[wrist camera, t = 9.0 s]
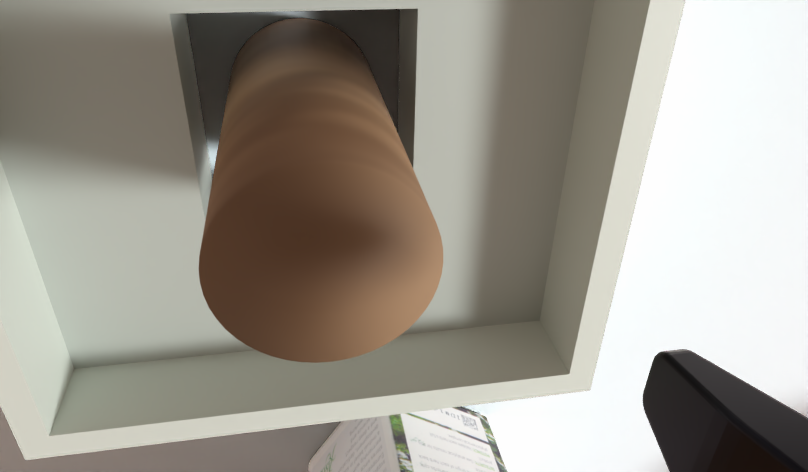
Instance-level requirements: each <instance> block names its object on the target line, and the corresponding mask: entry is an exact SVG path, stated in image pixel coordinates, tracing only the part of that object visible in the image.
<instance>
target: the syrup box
mask: <svg viewBox="0 0 808 472" xmlns="http://www.w3.org/2000/svg"><path fill="white" fill-rule="evenodd" d="M308 472H507V470H506V467H505V465H504V463H503V460H502V458H501V455H500V453H499V450H498V447H497V444H496V441H495V439H494V436H493V433H492V431H491V429H490V426H489V423H488V421H487V418H486V417H485V416H482V415H480V414H477V413H475V412H472V411H470V410H467V409H464V408H461V407H452V408H444V409H436V410H428V411H420V412H412V413H404V414H395V415H387V416H379V417H371V418H363V419H355V420H347V421H341V423H340V424H339V425H338V426H337V427H336V429H335V430H334V431H333V432H332V434H331V435H330V436H329V437H328V439H327V440H326V441H325V442H324V444H323V445H322V446H321V447H320V448H319V450H318V451H317V452H316V453H315V455H314V456H313V457H312V459H311V460H310V461H309V466H308Z"/></svg>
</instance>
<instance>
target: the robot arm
mask: <svg viewBox="0 0 808 472" xmlns="http://www.w3.org/2000/svg"><path fill="white" fill-rule="evenodd" d="M643 406H644V410H645V413H646V416H647V418H648V420H649V423H650V425H651V428H652V430H653V433H654V435H655V437H656V440H657V442H658V445H659V447H660V449H661V452H662V454H663V457H664V459H665V462H666V464H667V466H668V469H669V471H670V472H808V418H807V417H805V416H804V415H802V414H800V413H798V412H797V411H795V410H793V409H791V408H790V407H788V406H786V405H784V404H783V403H781V402H779V401H777V400H776V399H774V398H772V397H770V396H769V395H767V394H765V393H764V392H762V391H760V390H758V389H757V388H755V387H753V386H751V385H750V384H748V383H746V382H744V381H743V380H741V379H739V378H737V377H736V376H734V375H732V374H730V373H729V372H727V371H725V370H723V369H722V368H720V367H718V366H716V365H715V364H713V363H711V362H710V361H708V360H706V359H704V358H703V357H701V356H699V355H697V354H696V353H694V352H692V351H690V350H685V349H680V350H672V351H663V352H660V353H658V354H657V355H656V356H655V358H654V360H653V363H652V366H651V369H650V373H649V376H648V379H647V383H646V386H645V389H644V393H643Z"/></svg>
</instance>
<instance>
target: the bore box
mask: <svg viewBox="0 0 808 472" xmlns="http://www.w3.org/2000/svg"><path fill="white" fill-rule="evenodd" d="M684 4H685V0H0V406H1V409H2V411H3V413H4V415H5V417H6V420H7V422H8V424H9V426H10V428H11V430H12V433H13V435H14V437H15V439H16V441H17V444H18V446H19V448H20V450H21V452H22V454H23V457H24V459H25V460H32V459H41V458H49V457H57V456H65V455H73V454H81V453H89V452H97V451H105V450H113V449H121V448H129V447H137V446H145V445H153V444H162V443H170V442H178V441H186V440H194V439H202V438H210V437H218V436H226V435H234V434H242V433H250V432H258V431H266V430H274V429H283V428H291V427H299V426H307V425H315V424H323V423H331V422H339V421H347V420H355V419H363V418H371V417H379V416H387V415H395V414H404V413H412V412H420V411H428V410H436V409H444V408H452V407H460V406H468V405H476V404H484V403H492V402H500V401H508V400H516V399H525V398H533V397H541V396H549V395H557V394H565V393H573V392H581V391H589V390H590V388H591V384H592V380H593V376H594V372H595V368H596V364H597V360H598V356H599V351H600V347H601V343H602V339H603V335H604V331H605V327H606V323H607V319H608V315H609V311H610V307H611V302H612V298H613V294H614V290H615V286H616V282H617V278H618V274H619V270H620V266H621V262H622V258H623V253H624V249H625V245H626V241H627V237H628V233H629V229H630V225H631V221H632V217H633V213H634V209H635V204H636V200H637V196H638V192H639V188H640V184H641V180H642V176H643V172H644V168H645V164H646V160H647V155H648V151H649V147H650V143H651V139H652V135H653V131H654V127H655V123H656V119H657V115H658V111H659V106H660V102H661V98H662V94H663V90H664V86H665V82H666V78H667V74H668V70H669V66H670V61H671V57H672V53H673V49H674V45H675V41H676V37H677V33H678V29H679V25H680V21H681V17H682V12H683V8H684ZM371 9H400V23H399V93H398V135H399V137H400V140H401V142H402V144H403V147H404V149H405V151H406V154H407V156H408V158H409V161H410V163H411V165H412V168H413V170H414V172H415V175H416V177H417V179H418V182H419V184H420V186H421V189H422V191H423V193H424V196H425V198H426V200H427V203H428V205H429V207H430V210H431V212H432V214H433V217H434V219H435V221H436V223H437V226H438V229H439V232H440V235H441V239H442V245H443V268H442V275H441V278H440V282H439V285H438V288H437V290H436V292H435V295H434V297H433V299H432V300H431V302H430V304H429V305H428V307H427V308H426V310H425V311H424V312H423V314H422V315H421V316H420V317H419V319H418V320H417V321H416V322H415V323H414V324H413V325H412V326H411V327H410V328H409V329H407V330H406V331H405V332H404V333H402V334H401V335H400V336H398V337H397V338H396V339H394V340H392V341H391V342H389V343H387V344H386V345H384V346H382V347H380V348H378V349H376V350H374V351H371V352H368V353H366V354H363V355H360V356H357V357H353V358H349V359H345V360H339V361H333V362H320V363H310V362H297V361H289V360H284V359H280V358H276V357H272V356H270V355H267V354H264V353H261V352H259V351H257V350H255V349H253V348H251V347H249V346H247V345H246V344H244V343H242V342H241V341H239V340H238V339H236V338H235V337H234V336H233V335H232V334H230V333H229V332H228V331H227V330H226V329H225V328H224V327H223V326H222V325H221V324H220V323H219V321H218V320H217V319H216V318H215V316H214V315H213V313H212V312H211V310H210V309H209V307H208V305H207V302H206V300H205V298H204V296H203V292H202V289H201V285H200V279H199V255H200V249H201V243H202V238H203V232H204V226H205V220H206V215H207V209H208V203H209V197H210V192H211V186H212V180H213V179H212V172H211V166H210V160H209V154H208V147H207V141H206V135H205V129H204V122H203V116H202V110H201V104H200V97H199V91H198V85H197V79H196V72H195V66H194V60H193V54H192V47H191V41H190V35H189V28H188V22H187V16H186V13H227V12H275V11H323V10H371Z"/></svg>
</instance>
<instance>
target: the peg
mask: <svg viewBox="0 0 808 472" xmlns="http://www.w3.org/2000/svg"><path fill="white" fill-rule="evenodd" d="M442 268H443V245H442V239H441V235H440V232H439V229H438V226H437V223H436V221H435V219H434V217H433V214H432V212H431V210H430V207H429V205H428V203H427V200H426V198H425V196H424V193H423V191H422V189H421V186H420V184H419V182H418V179H417V177H416V175H415V172H414V170H413V168H412V165H411V163H410V161H409V158H408V156H407V154H406V151H405V149H404V147H403V144H402V142H401V140H400V137H399V135H398V133H397V130H396V128H395V126H394V123H393V121H392V119H391V116H390V114H389V112H388V109H387V107H386V105H385V102H384V100H383V98H382V95H381V93H380V91H379V88H378V86H377V84H376V81H375V79H374V77H373V74H372V72H371V70H370V67H369V65H368V63H367V61H366V59H365V57H364V55H363V53H362V52H361V50H360V49H359V47H358V46H357V45H356V44H355V42H354V41H353V40H352V39H351V38H350V37H348V36H347V35H346V34H345V33H344V32H342V31H341V30H339V29H337V28H336V27H334V26H332V25H329V24H327V23H324V22H321V21H318V20H313V19H307V18H293V19H286V20H281V21H278V22H275V23H272V24H270V25H268V26H266V27H264V28H262V29H260V30H259V31H258V32H256V33H255V34H254V35H252V36H251V37H250V38H249V39H248V40H247V41H246V43H245V44H244V45H243V47H242V48H241V49H240V51H239V53H238V55H237V57H236V59H235V61H234V64H233V67H232V71H231V76H230V82H229V88H228V93H227V99H226V105H225V111H224V116H223V122H222V128H221V134H220V140H219V145H218V151H217V157H216V163H215V168H214V174H213V180H212V186H211V192H210V197H209V203H208V209H207V215H206V220H205V226H204V232H203V238H202V243H201V249H200V255H199V279H200V285H201V289H202V292H203V296H204V298H205V300H206V302H207V305H208V307H209V309H210V310H211V312H212V313H213V315H214V316H215V318H216V319H217V320H218V321H219V323H220V324H221V325H222V326H223V327H224V328H225V329H226V330H227V331H228V332H229V333H230V334H232V335H233V336H234V337H235V338H236V339H238V340H239V341H241V342H242V343H244V344H246V345H247V346H249V347H251V348H253V349H255V350H257V351H259V352H261V353H264V354H267V355H270V356H272V357H276V358H280V359H284V360H289V361H297V362H310V363H320V362H333V361H339V360H345V359H349V358H353V357H357V356H360V355H363V354H366V353H368V352H371V351H374V350H376V349H378V348H380V347H382V346H384V345H386V344H387V343H389V342H391V341H392V340H394V339H396V338H397V337H398V336H400V335H401V334H402V333H404V332H405V331H406V330H407V329H409V328H410V327H411V326H412V325H413V324H414V323H415V322H416V321H417V320H418V319H419V317H420V316H421V315H422V314H423V312H424V311H425V310H426V308H427V307H428V305H429V304H430V302H431V300H432V299H433V297H434V295H435V292H436V290H437V288H438V285H439V282H440V278H441V275H442Z"/></svg>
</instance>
